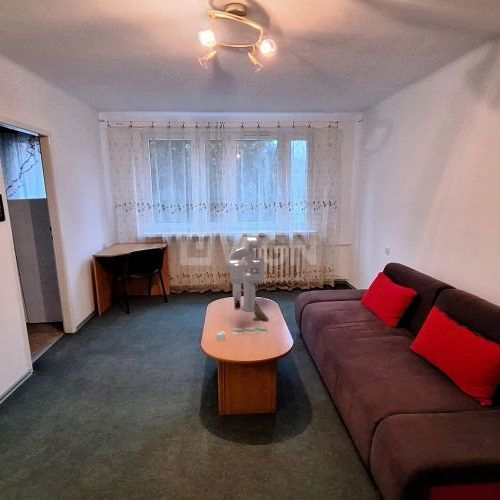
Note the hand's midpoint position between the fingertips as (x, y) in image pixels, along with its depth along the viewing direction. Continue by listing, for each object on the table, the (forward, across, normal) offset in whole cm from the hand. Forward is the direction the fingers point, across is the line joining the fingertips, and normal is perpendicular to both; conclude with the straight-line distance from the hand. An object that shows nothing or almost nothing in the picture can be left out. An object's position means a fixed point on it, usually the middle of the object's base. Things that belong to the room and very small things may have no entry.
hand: (237, 306), depth 219 cm
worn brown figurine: (+19, -17, +19) cm, 32 cm away
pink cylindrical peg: (+2, 0, 0) cm, 2 cm away
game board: (+19, 0, +8) cm, 21 cm away
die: (+19, +10, -12) cm, 25 cm away
